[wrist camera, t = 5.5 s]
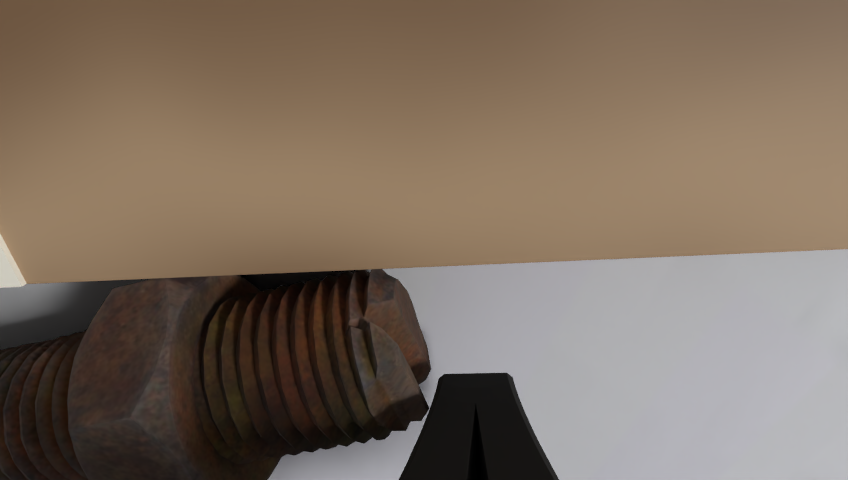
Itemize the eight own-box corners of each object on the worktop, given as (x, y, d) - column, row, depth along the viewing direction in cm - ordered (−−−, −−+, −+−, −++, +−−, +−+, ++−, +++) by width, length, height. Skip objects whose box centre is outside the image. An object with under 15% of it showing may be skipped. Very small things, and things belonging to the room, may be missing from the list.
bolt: (430, 274, 13) (-33, 377, 15) (362, 141, 9) (-257, 309, 11) (461, 529, 9) (-140, 611, 12) (375, 502, 5) (-517, 635, 8)
